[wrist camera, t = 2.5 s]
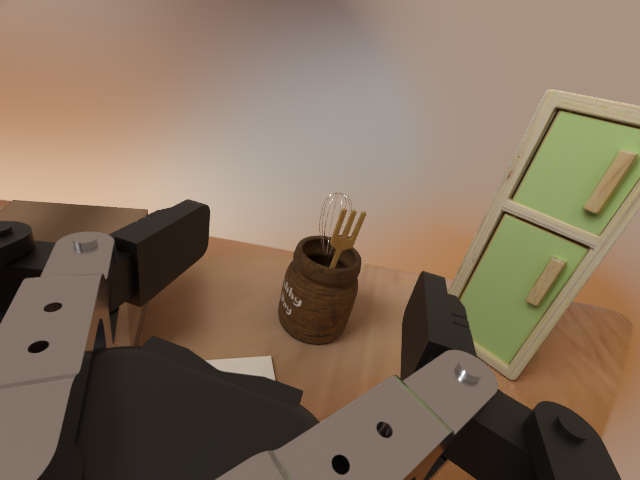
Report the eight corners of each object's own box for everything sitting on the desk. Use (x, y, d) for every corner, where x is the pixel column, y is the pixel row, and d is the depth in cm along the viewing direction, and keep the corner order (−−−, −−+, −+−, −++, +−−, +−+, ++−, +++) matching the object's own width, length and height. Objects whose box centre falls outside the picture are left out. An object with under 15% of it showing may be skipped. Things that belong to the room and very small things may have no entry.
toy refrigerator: (424, 326, 31) (544, 84, 21) (458, 301, 36) (568, 95, 26) (509, 388, 26) (712, 118, 17) (534, 350, 31) (702, 124, 21)
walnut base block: (-32, 373, 19) (-76, 273, 15) (32, 283, 25) (12, 199, 22) (132, 362, 21) (126, 275, 18) (152, 283, 28) (149, 209, 25)
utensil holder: (339, 301, 31) (376, 182, 26) (350, 353, 26) (400, 218, 20) (277, 293, 30) (302, 169, 25) (275, 347, 25) (306, 202, 19)
